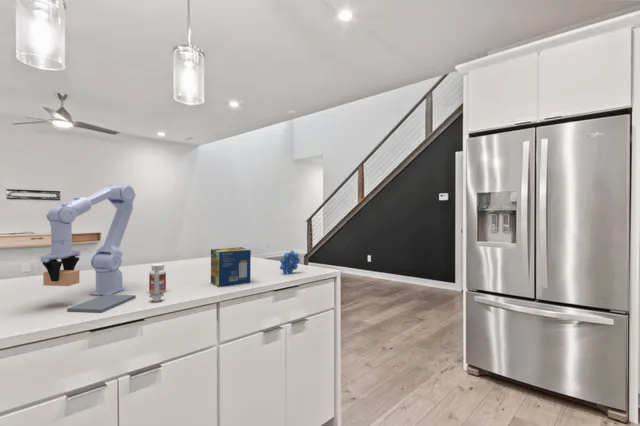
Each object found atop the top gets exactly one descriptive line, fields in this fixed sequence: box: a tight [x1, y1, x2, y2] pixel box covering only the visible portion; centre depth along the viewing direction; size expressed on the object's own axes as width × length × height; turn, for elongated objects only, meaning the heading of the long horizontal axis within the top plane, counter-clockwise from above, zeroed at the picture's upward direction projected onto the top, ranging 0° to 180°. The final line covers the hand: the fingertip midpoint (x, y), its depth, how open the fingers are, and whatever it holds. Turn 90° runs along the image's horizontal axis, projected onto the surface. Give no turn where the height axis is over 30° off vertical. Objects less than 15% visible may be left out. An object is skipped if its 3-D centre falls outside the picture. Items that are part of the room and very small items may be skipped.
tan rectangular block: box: [42, 269, 80, 287], centre depth 118 cm, size 5×9×4 cm, turn 86°
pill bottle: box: [148, 263, 167, 294], centre depth 138 cm, size 6×6×11 cm
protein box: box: [210, 246, 252, 288], centre depth 155 cm, size 10×15×16 cm
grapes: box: [279, 250, 301, 275], centre depth 178 cm, size 12×7×12 cm, turn 124°
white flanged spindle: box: [149, 266, 165, 303], centre depth 124 cm, size 13×5×5 cm
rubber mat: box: [66, 294, 137, 314], centre depth 120 cm, size 18×12×1 cm, turn 176°
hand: (61, 279), depth 118 cm, fingers closed on tan rectangular block, 5 cm apart
